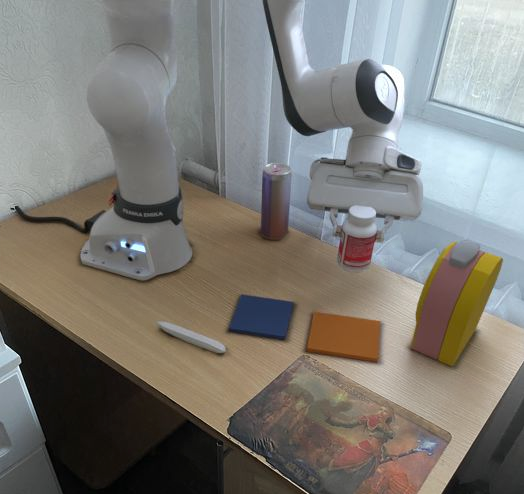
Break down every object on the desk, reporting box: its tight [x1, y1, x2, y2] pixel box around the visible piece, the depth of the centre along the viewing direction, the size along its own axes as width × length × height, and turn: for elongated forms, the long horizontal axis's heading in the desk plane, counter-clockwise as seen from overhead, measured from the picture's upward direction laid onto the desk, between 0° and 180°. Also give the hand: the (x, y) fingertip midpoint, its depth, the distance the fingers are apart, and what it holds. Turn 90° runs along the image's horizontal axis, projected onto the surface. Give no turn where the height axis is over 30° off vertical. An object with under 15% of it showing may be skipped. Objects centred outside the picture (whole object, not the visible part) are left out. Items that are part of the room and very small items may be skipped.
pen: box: [155, 321, 227, 354], centre depth 91 cm, size 2×14×2 cm, turn 63°
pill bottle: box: [336, 205, 378, 274], centre depth 96 cm, size 6×6×11 cm
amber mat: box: [305, 311, 381, 363], centre depth 93 cm, size 12×10×1 cm
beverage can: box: [260, 162, 293, 241], centre depth 113 cm, size 6×6×15 cm
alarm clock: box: [410, 239, 504, 367], centre depth 88 cm, size 15×8×18 cm, turn 145°
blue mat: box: [228, 294, 295, 341], centre depth 97 cm, size 10×10×1 cm
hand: (357, 239), depth 95 cm, fingers closed on pill bottle, 6 cm apart
